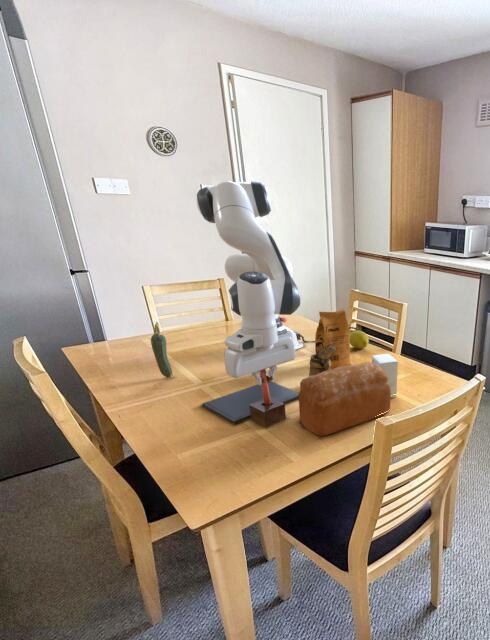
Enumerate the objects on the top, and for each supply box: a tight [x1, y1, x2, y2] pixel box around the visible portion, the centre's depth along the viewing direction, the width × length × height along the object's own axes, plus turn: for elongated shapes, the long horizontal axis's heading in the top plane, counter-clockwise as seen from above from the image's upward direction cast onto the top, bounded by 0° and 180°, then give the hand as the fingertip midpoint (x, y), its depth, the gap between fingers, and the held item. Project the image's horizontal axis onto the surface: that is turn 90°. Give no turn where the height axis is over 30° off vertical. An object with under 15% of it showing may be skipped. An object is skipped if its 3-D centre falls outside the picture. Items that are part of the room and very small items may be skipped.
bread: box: [298, 361, 391, 437], centre depth 120 cm, size 14×26×16 cm, turn 133°
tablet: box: [201, 381, 299, 425], centre depth 129 cm, size 24×17×1 cm
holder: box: [249, 397, 287, 429], centre depth 118 cm, size 7×7×5 cm
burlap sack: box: [308, 345, 336, 377], centre depth 137 cm, size 9×14×18 cm, turn 35°
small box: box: [371, 353, 399, 399], centre depth 137 cm, size 8×6×13 cm
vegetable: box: [150, 321, 174, 379], centre depth 137 cm, size 4×4×20 cm
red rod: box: [258, 369, 271, 407], centre depth 115 cm, size 2×2×14 cm
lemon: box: [349, 330, 370, 350], centre depth 180 cm, size 11×8×8 cm
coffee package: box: [314, 308, 351, 370], centre depth 157 cm, size 10×12×22 cm
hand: (265, 382), depth 115 cm, fingers closed on red rod, 2 cm apart
